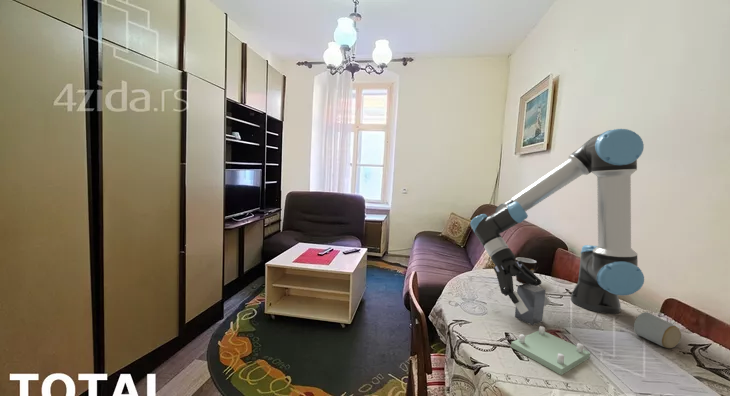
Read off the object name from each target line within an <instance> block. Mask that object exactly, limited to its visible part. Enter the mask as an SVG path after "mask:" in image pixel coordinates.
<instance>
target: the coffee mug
mask: <svg viewBox="0 0 730 396" xmlns="http://www.w3.org/2000/svg"><path fill="white" fill-rule="evenodd" d="M518 261H521V262H522V263H523V264H524V265H525V266H526V267H527V268H528V269H529V270H530V271H531V272H532V273H533V274H534V275H535V273H536V272H537V271H538V270H539V269H540V263H539V262H537V260H534V259H532V258H528V257H515V262H516V263H517V262H518ZM536 266H537V268H536ZM521 268H522V267H521ZM515 280H516V281H517V282H518V283H521V284H527V283H526V282H525V281H524V280H522V279H521V278H519V277H516V276H515Z"/></svg>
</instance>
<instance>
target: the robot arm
mask: <svg viewBox="0 0 730 396" xmlns="http://www.w3.org/2000/svg"><path fill="white" fill-rule="evenodd" d="M644 145H645V144H644V141H643V138H642V137H641V136H640V135H639V134H638V133H636V132H635V131H633V130H631V129H628V128H616V129H615V128H614V129H610V130H606V131H604V132H602V133H600V134H596V135H595V136H592V137H590V138H589V139H588V140H587V141H586V142H585V143H584V144H583V145H581V146H580V147H579V148H577V149H576V150H575V151H574V152H572V153H570V154H569V155H568V158H567V160H565V161H563V162H562V163H561V164H560V165H558V166H556V167H555V168H553V169H552V170H550V171H549V172H547V173H546V174H545V175H542V176H541V177H540V178H539V179H538V180H536V181H535V182H533V183H532V184H530V185H528V186H526V188H524V189H523V190H521V191H520V192H518V193H517V194H515V195H514V196H512V197H511V198H510V199H508V200H507V201H505V202H503V203H500V204H499V205H498V206H497V207H496V209H495V212H494V213H492V214H491V215H489V216H488V215H487V214H486V213H481V214H479V215H477V216H475V217H473V218H472V219H471V221H470V223H469V224H470V227H471V229H472V231H473V233H474V234H475V237H477V239H478V241H479V242H480V244H481V245H482V247H483V248H484V249H485V251H486V253H487V255H488V256H489V257H490V260H491V261H492V262H493V264H494V267H493V270H494V272H495V275H496V279H497V282H498V286H499V289H500V293H501V294H503V295H504V296H505V297H507V296H508V297H509V299H510V300H511V302H512V303H513V304H514V306H515V308H516V307H517V309H518V311H519V312H520V314H523V313H525V312H527V311H529V310H528V309H527V307H526V306H525V304H524V303H523V301H522V300H521V298H520V297H519V295H518V293H517V290H515V291H514V282H513V281H514V279H513V278H514V277H515V278H516V277H519V278H521V279H522V280H524V281H525V282H526V283H529V284H532V285H535V286H537V287H540V288H542V287H541V286H540V285H541V284H542V281H541V279H540V278H539V277H538V276H537V275H536V274H535V273H534V274H533V273H532V272H531V271H530V270H529V269H528V268H527V267H526V266H525V265H524V264H523V263H522V262H521V261H518V262H517V263H516V260H515V259H516V257H515V254H514V253H513V251H512V250H511V248H510V247H509V245H508V243H507V242H506V241H505V239H504V238H503V236H502V235H501V234H502V233H505V232H506V231H507V230H509V229H511V228H513V227H514V226H516V225H518V224H520V223H522V222H524V221H525V220H527V219H528V217H529V216H528V213H527V211H529V210H530V209H532V208H533V207H535V206H537V205H539V203H541V202H542V201H545V200H546V199H547V198H548V197H550V196H552V195H553V194H555V193H556V192H558V191H560V189H563V188H564V187H566V186H567V185H569V184H570V183H572V182H573V181H575V180H577V179H578V178H580V177H581V176H583V175H585V176H587V175H589V174H591V173H592V174H593V175H594V176H595V177H596V182H597V183H596V184H597V185H596V186H597V197H596V198H597V245H592V244H584V245H583V246H582V247H581V251H580V261H579V272H578V280H577V283H576V285H575V287H574V289H573V291H572V292H571V295H570V300H571V302H572V303H574V304H575V305H577V306H579V307H582V308H583V309H587V310H590V311H592V312H593V311H594V312H597V313H602V314H608V315H609V314H610V315H611V314H613V315H615V314H619V313H620V312H621V308H622V307H621V306H622V305H621V302H620V298H619V296H629V295H633V294H634V293H637V292H638V291H640V290H641V288H642V287H643V286H644V283H645V276H644V273H643V271H642V269H641V268H640V267H639V265H638V252H636V251H635V250H634V249H633V248H632V205H631V204H632V202H631V200H632V196H631V195H632V194H631V193H632V189H631V185H632V184H631V183H632V181H631V179H632V178H631V177H632V175H633V174H634V173H635V172H636V171H637V170H638V159H639V158H640V157H641V155H642V154H643V152H644ZM521 267H522V268H521ZM526 283H525V284H526ZM550 304H552V302H551V300H550V298H549V297H548V296H547V294H546V293H545V300H544V307H545V306H548V305H550Z"/></svg>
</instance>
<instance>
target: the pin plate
mask: <svg viewBox="0 0 730 396" xmlns="http://www.w3.org/2000/svg"><path fill="white" fill-rule="evenodd" d="M545 330H546V328H545V327H544V326H541V325H539V328H538V330H537V331H534V332H532V333H529V334H527V335H524V334H523V333H522V334H519V337H518V338H517V339H515V340H513V341H511V342H510V343H511V344H510V348H512V349H514V350H515V351H517V352H519V353H521V354H523V355H525V357H526V356H527V357H528V358H530V359H531V360H533V361H535V362H537V363H538V364H541V365H542V366H544V367H546V368H547V369H549V370H551V371H553V372H555V373H557V374H558V375H560V376H562V375H564V374H565V373H567V372H568V371H570V370H571V369H574V368H575V367H577V366H579V365H580V364H582V363H584V362H585V361H587V360H588V359H590V358H591V352H590V351H589V350H586V349H584V348H585V346H584V344H582V343H580V342H579V343H578V342H577V344H576V345H575V344H574V343H571V342H569V341H566V340H564V339H563V338H560V337H558V336H557V335H553V334H551V333H549V332H547V331H545Z"/></svg>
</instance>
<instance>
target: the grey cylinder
mask: <svg viewBox="0 0 730 396" xmlns="http://www.w3.org/2000/svg"><path fill="white" fill-rule="evenodd" d="M633 330H634V333H635V334H636V335H637V336H639V337H642V338H644V339H646V340H648V341H650V342H652V343H654V344H656V345H658V346H660V347H663V348H665V349H666V348H667V349H671V348H672V349H673V348H675V347H676V346H677V345H678V344H680V343H681V340H682V339H681V338H682V333H681V330H680V328H679V327H677V326H676V325H675V324H673V323H671V322H669V321H666V320H665V319H662V318H660V317H659V316H657V315H654V314H652V313H650V312H648V311H645V312H641V313H640V314H639V315H638V316H637V317H636V319H635V320H634V323H633Z"/></svg>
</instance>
